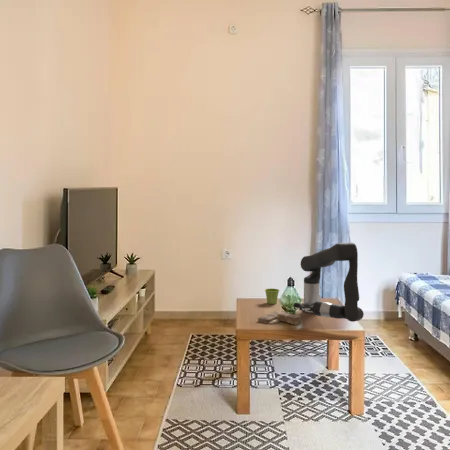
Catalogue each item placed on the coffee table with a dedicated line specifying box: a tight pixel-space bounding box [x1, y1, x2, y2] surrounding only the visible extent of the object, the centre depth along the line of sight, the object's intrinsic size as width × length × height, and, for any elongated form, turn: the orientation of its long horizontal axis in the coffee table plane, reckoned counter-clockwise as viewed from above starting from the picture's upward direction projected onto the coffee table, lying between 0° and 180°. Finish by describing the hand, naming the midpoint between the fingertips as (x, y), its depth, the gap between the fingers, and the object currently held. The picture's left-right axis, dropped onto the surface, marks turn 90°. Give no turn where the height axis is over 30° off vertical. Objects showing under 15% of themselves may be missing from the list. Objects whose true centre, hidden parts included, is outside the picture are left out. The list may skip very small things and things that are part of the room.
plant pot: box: [264, 288, 280, 305], centre depth 304 cm, size 9×9×9 cm
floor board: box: [257, 311, 281, 325], centre depth 264 cm, size 18×10×2 cm, turn 143°
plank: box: [277, 311, 302, 325], centre depth 259 cm, size 4×5×12 cm
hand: (294, 304), depth 256 cm, fingers closed
